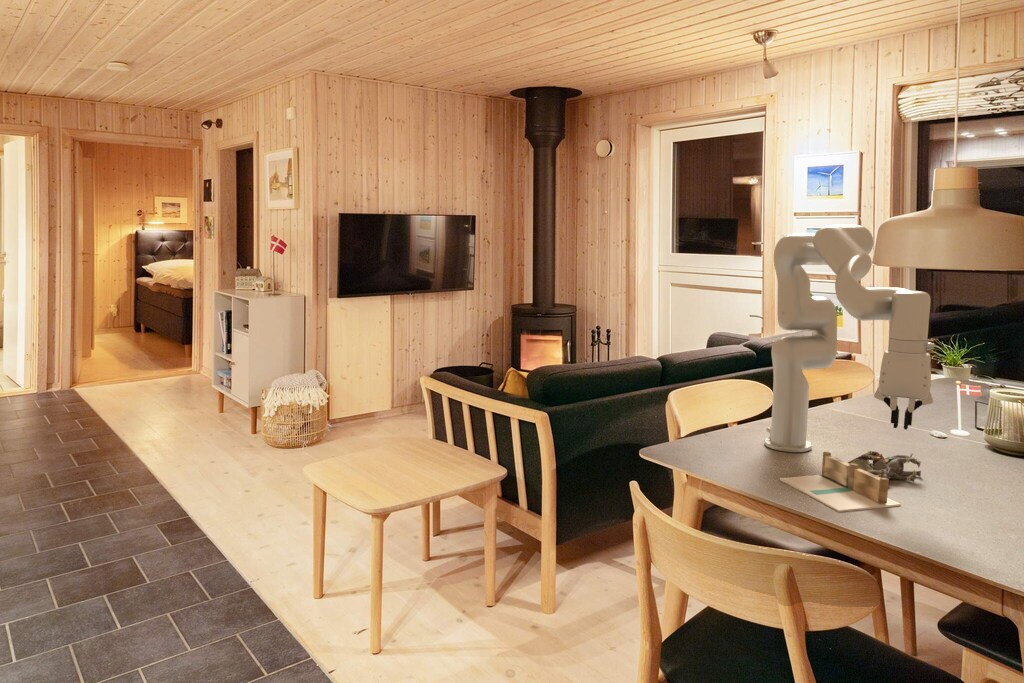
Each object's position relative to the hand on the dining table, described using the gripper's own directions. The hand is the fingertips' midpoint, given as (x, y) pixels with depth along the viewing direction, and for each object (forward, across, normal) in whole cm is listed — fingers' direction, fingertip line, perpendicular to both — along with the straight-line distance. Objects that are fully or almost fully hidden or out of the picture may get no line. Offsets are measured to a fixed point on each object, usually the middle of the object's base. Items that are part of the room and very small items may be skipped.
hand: (900, 427), depth 170 cm
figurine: (+18, +5, -18) cm, 26 cm away
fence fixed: (+17, +13, -5) cm, 21 cm away
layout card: (+17, +12, +1) cm, 21 cm away
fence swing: (+16, +5, +3) cm, 17 cm away
